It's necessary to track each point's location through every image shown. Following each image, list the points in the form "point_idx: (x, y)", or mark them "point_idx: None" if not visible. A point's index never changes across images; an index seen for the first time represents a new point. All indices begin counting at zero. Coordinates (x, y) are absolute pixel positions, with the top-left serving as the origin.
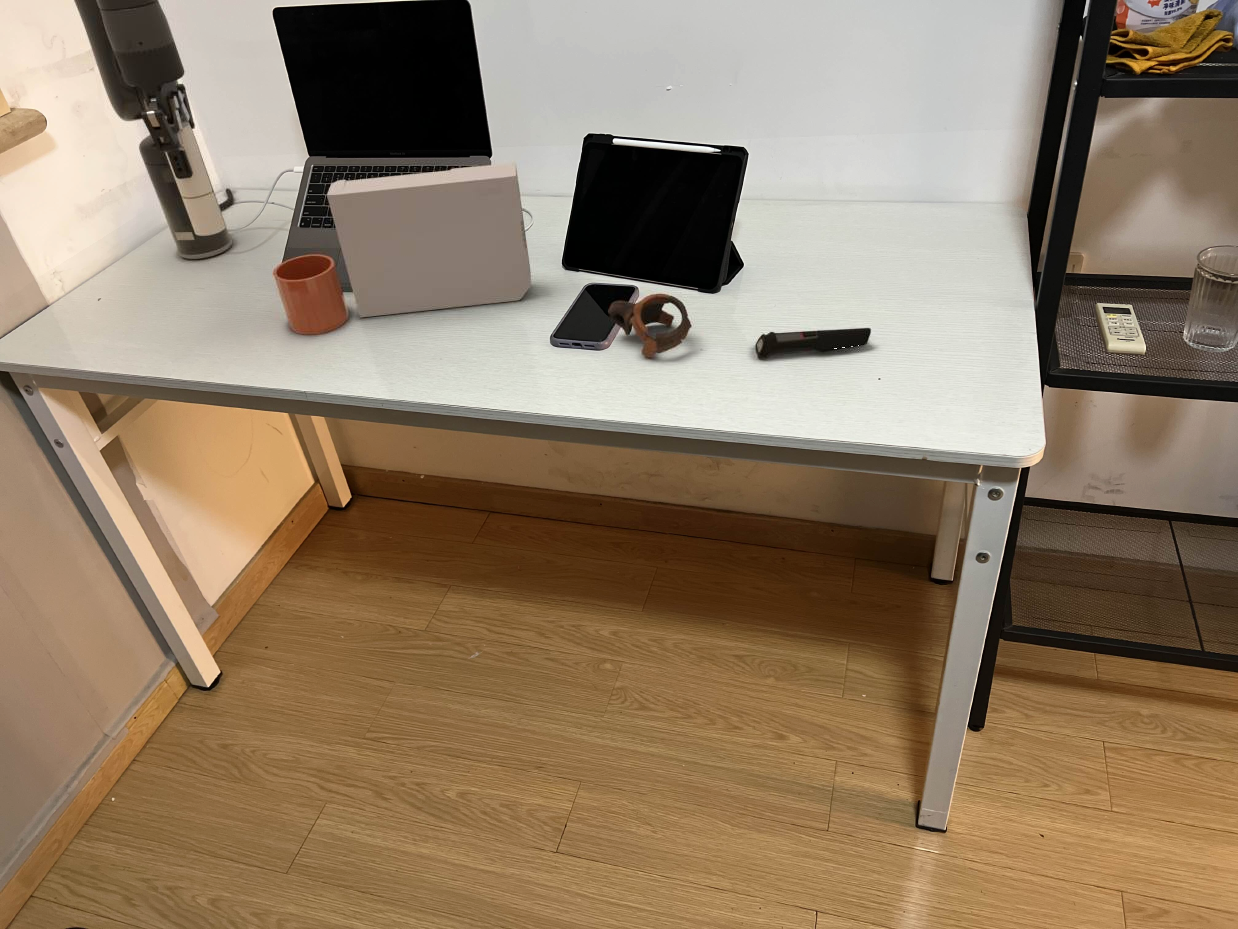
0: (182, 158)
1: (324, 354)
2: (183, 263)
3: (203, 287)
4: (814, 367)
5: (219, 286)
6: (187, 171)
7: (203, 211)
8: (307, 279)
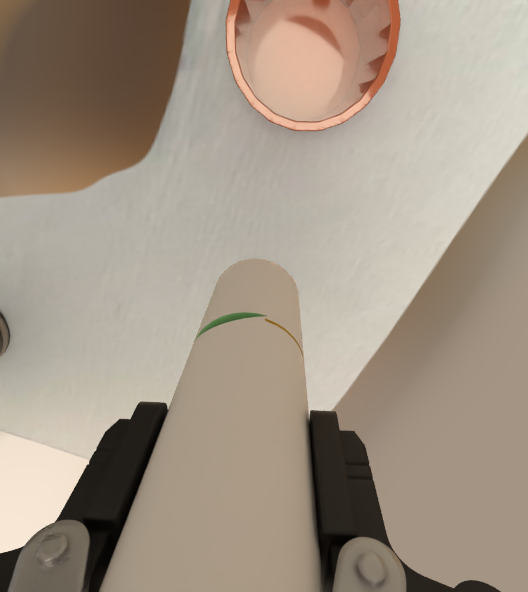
0: (356, 504)
1: (459, 30)
2: (21, 349)
3: (114, 306)
4: None
5: (114, 281)
6: (341, 439)
7: (300, 324)
8: (398, 13)
